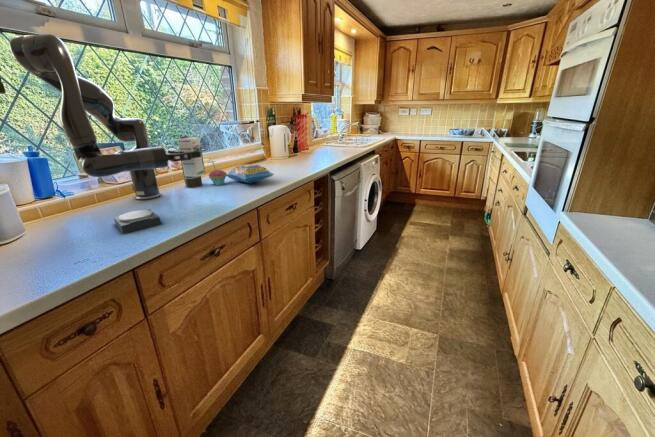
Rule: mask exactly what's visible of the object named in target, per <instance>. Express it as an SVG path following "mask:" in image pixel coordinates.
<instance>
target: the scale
mask: <svg viewBox="0 0 655 437" xmlns="http://www.w3.org/2000/svg"><path fill="white" fill-rule="evenodd" d="M113 219H114V223H115V225H116V227H117V228H118V229H119V230H120V231H121V233H122V234H128V233H132V232H136V231H140V230H145V229H148V228H152V227H156V226H159V225H162V220H161V217H160V216H159V215H158V214H157V213H156V212H154V211H152V210H151V209H149V208H148V209H139V210H132V211H128V212H125V213H123V214H120V215H117V216H113Z"/></svg>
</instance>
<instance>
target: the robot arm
mask: <svg viewBox="0 0 655 437" xmlns="http://www.w3.org/2000/svg"><path fill="white" fill-rule="evenodd" d="M8 43H9V44H8V47H9V51H10V53H11V55H12V56H13V58H14V59H15V60H16V61H17V62H18V64H19V65H20V66H22V68H23V69H25V70H26V71H27V72H29V73H30V74H32V75H33V76H35V77H36V78H38V79H40V80H41V81H43V82H44V83H46V84H48V85H49V86H51V87H52V88H54V89H55V90H57V91H58V92H60V93H61V96H60V104H59V110H58V117H59V122H60V125H61V127H62V129H63V131H64V134H65V136H66V138H67V140H68V142H69V143H70V145H71V146H72V149H73V151H74V154H75V157H76V160H77V162H78V163H79V164H78V165H79V167H80V169H82V171H83V172H84V173H85V174H86V175H88V176H90V177H93V178H104V177H109V176H113V175H118V174H121V173H125V172H129V175H130V179H131V183H130V184H131V185H130V186H131V187H132V188H131V189H132V191H133V192H134V195H135V199H136V200H139V201H141V200H143V201H144V200H151V199H155V198H158V197H160V196H161V192H160V189H159V185H158V184H159V183H158V180H157V176H156V172H155V170H156V169H161V168H162V169H163V168H167V167H168V166H169V162H173V163H176V162H181V161H184V160H191V158H197V157H201V153H200V151H195V152H184V151H180V150H179V149H168V150H165V148H164V147H163V146H150V141H149V135H148V130H147V126H146V124H145V122H144V120H142V119H141V118H139V117H128V118H127V117H126V118H124V117H123V118H121V117H118V116H117V115H116V114H115V103H114V101H113V99H112V97H110V95H108V93H107V92H106V91H105V90H104V89H103V88H101V86H99V85H98V84H96V83H95V82H93V81H90V79H89V80H88V79H87V78H84V77H81V76H79V75H77V73H76V68H75V65H74V61H73V59H72V56H71V53H70V51H69V49H68V47H67V45H66V44H65V43H64V41H63V40H62V39H60V38H59V37H58V36H56V35H55V34H51V33H44V34H43V33H42V34H41V33H40V34H26V35H19V36H14V37H11V39H10V40H9V42H8ZM88 114H89V115H90V116H91V117H93V118H94V119H95V120H96V121H98V122H99V123H100V124H101V125H103V127H105V129H107V130H108V132H110V133H111V134H112V135H113V136H114V137H115V138H116V139H117V140H118V141H120V142H124V143H131V142H133V143H135V146H134V147H133V148H132V149H127V150H119V151H116V152H115V153H107V154H103V153H102V152H101V149H100V147H99V144H98V138H97V136H96V135H97V134H96V133H95V129H94V127H93V126H92V123H91V121H90V119H89V116H88ZM185 155H187V157H185Z"/></svg>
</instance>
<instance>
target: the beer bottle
mask: <svg viewBox="0 0 655 437" xmlns="http://www.w3.org/2000/svg"><path fill="white" fill-rule="evenodd" d="M189 137H190V136H187V135H184V136H183V135H182V136H180V139H183V138H189ZM180 164H181V170H182V174H183V180H184V184H185V187H187V188H199V187H201V186H203V180H202V175H200V176H198V177H187V176H185V175H184V170H183V165H182V161H180Z"/></svg>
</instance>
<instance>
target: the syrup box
mask: <svg viewBox="0 0 655 437" xmlns="http://www.w3.org/2000/svg"><path fill="white" fill-rule="evenodd" d="M188 137H189V138H183V139H181V138H177V144H178V150H180V151H184V152H195V151H200V153H201V157H197V158H191V160H184V161H182V165H183V170H184V175H185V176H187V177H198V176H200V175H201V176H203V175H206V168H205V162H204V156H203V151H202V145H201V139H200V137H197V136H196V137H195V136H192V137H190V136H188ZM185 157H187V155H185ZM182 165H181V166H182ZM183 170H182V171H183ZM184 175H183V176H184Z"/></svg>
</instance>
